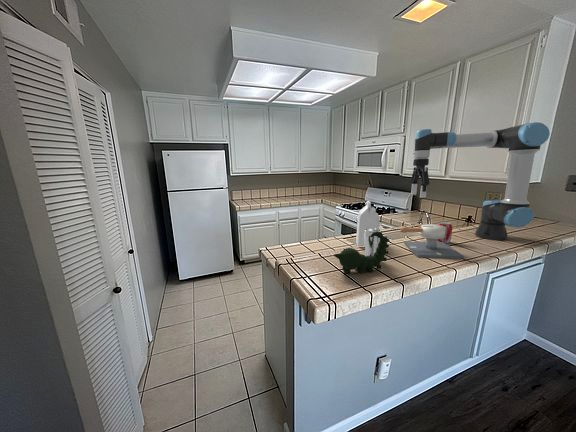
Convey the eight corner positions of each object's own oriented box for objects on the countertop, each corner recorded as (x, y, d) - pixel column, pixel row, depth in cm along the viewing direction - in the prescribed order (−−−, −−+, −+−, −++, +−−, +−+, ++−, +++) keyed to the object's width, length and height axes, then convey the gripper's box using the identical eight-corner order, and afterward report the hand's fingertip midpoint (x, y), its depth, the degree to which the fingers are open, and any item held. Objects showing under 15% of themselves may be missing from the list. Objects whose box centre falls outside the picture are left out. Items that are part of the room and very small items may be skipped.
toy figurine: (377, 267, 108) (328, 268, 104) (382, 229, 105) (331, 228, 100) (389, 276, 99) (336, 277, 95) (395, 234, 96) (340, 234, 91)
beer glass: (377, 261, 111) (379, 232, 107) (362, 260, 113) (363, 231, 110) (377, 256, 117) (378, 228, 114) (363, 255, 119) (364, 227, 116)
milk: (356, 241, 143) (357, 200, 137) (375, 241, 140) (377, 200, 135) (357, 247, 131) (359, 203, 126) (378, 248, 129) (381, 203, 124)
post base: (442, 244, 131) (443, 231, 130) (463, 258, 111) (465, 243, 109) (403, 243, 135) (404, 230, 133) (417, 257, 114) (418, 242, 113)
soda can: (453, 243, 132) (455, 224, 129) (441, 244, 132) (443, 224, 129) (445, 240, 138) (447, 221, 136) (433, 240, 139) (435, 221, 136)
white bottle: (438, 233, 125) (439, 224, 124) (448, 239, 115) (450, 229, 114) (397, 232, 129) (397, 223, 128) (403, 238, 118) (404, 228, 117)
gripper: (406, 159, 140) (404, 193, 144) (423, 157, 116) (419, 198, 120) (419, 159, 139) (416, 193, 143) (439, 157, 115) (435, 198, 119)
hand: (418, 196), depth 132 cm, fingers open, 13 cm apart
